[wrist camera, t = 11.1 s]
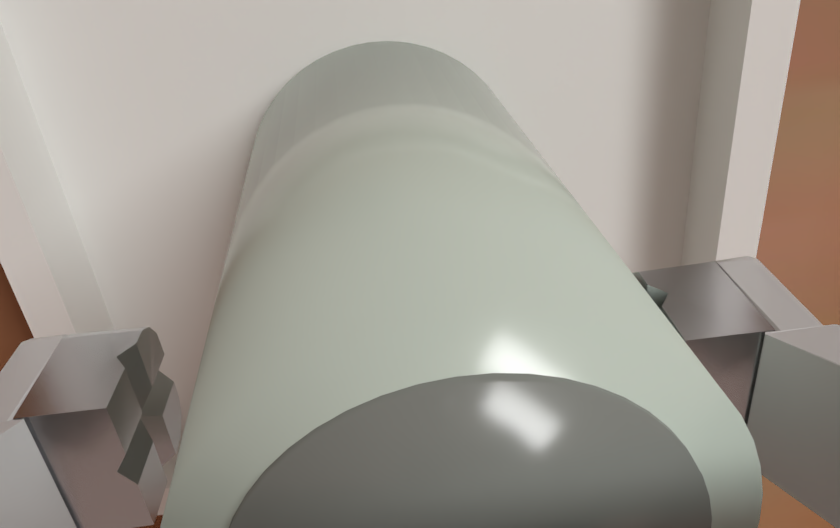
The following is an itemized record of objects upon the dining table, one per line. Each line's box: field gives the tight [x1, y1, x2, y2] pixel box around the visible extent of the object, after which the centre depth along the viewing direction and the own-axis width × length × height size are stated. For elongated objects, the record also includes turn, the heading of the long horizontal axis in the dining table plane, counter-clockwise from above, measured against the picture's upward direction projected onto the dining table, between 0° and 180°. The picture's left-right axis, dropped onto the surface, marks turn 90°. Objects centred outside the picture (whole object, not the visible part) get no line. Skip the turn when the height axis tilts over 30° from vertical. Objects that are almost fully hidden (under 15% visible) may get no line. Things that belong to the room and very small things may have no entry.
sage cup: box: [160, 41, 763, 528], centre depth 10 cm, size 5×5×9 cm
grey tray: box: [0, 0, 800, 515], centre depth 14 cm, size 14×14×2 cm
